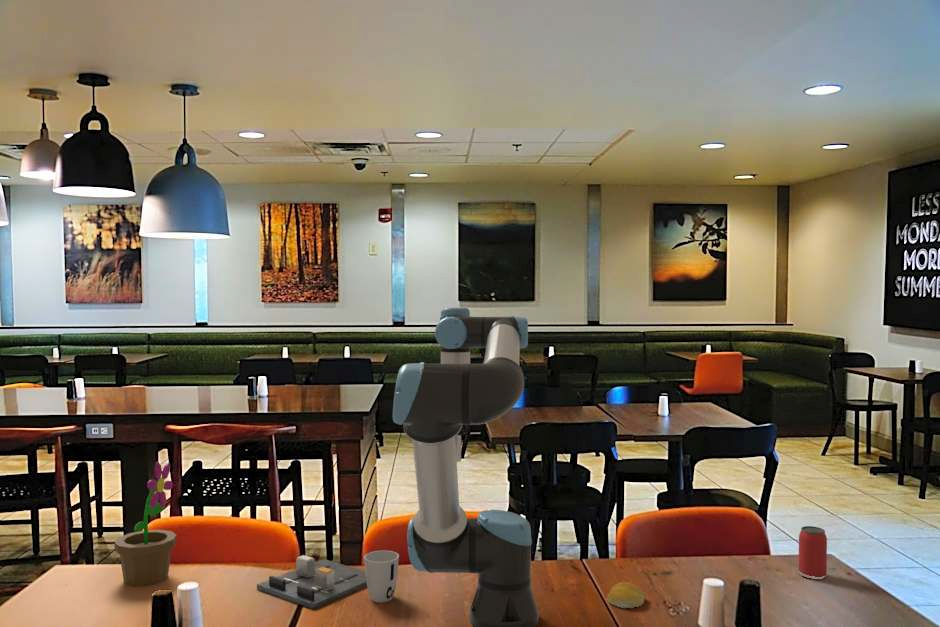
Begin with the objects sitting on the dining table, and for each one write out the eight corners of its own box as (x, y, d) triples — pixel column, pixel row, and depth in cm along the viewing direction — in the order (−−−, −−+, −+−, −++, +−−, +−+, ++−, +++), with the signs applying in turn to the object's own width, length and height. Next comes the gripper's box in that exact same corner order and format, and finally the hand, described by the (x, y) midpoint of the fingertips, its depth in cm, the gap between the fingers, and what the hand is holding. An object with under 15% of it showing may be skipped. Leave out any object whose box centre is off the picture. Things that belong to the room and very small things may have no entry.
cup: (392, 606, 175) (392, 563, 174) (359, 603, 176) (359, 560, 176) (403, 593, 183) (403, 551, 182) (370, 590, 184) (370, 549, 184)
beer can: (800, 578, 193) (800, 531, 192) (796, 570, 199) (797, 524, 199) (828, 581, 191) (829, 534, 190) (824, 572, 197) (825, 526, 197)
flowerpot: (158, 591, 183) (157, 467, 183) (102, 588, 185) (101, 465, 184) (187, 569, 198) (186, 454, 197) (135, 567, 199) (134, 453, 199)
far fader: (314, 575, 190) (314, 558, 190) (307, 577, 188) (307, 560, 188) (303, 571, 193) (303, 554, 193) (296, 574, 191) (296, 557, 191)
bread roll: (604, 607, 175) (604, 589, 175) (612, 593, 184) (612, 576, 184) (640, 612, 172) (640, 595, 172) (647, 598, 181) (647, 581, 180)
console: (379, 580, 191) (379, 567, 191) (313, 609, 173) (313, 595, 173) (324, 563, 202) (324, 551, 202) (256, 589, 185) (256, 576, 185)
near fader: (334, 587, 182) (334, 569, 182) (326, 590, 180) (326, 572, 180) (322, 583, 184) (322, 566, 184) (315, 587, 183) (315, 569, 182)
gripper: (458, 365, 201) (458, 454, 201) (427, 369, 190) (427, 463, 191) (482, 367, 196) (481, 458, 197) (451, 371, 186) (451, 467, 186)
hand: (455, 460), depth 194 cm, fingers closed
